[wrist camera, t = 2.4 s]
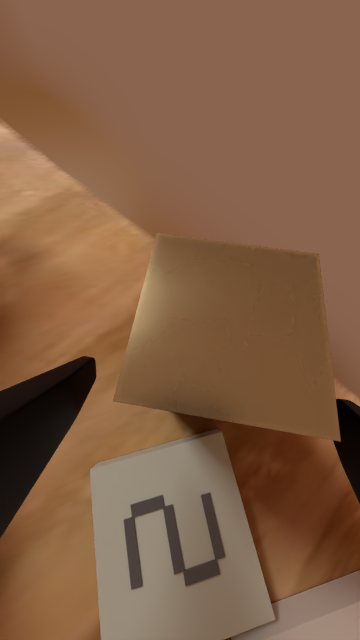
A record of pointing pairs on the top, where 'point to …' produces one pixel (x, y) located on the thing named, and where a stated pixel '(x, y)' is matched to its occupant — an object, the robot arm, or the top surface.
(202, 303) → the tea tin
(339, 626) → the tile
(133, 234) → the top surface
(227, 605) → the tile
